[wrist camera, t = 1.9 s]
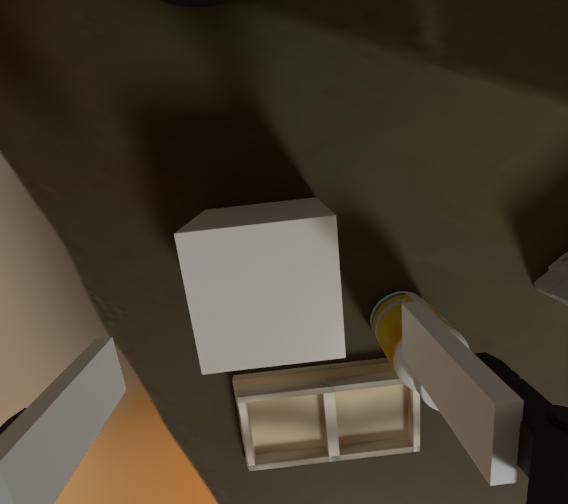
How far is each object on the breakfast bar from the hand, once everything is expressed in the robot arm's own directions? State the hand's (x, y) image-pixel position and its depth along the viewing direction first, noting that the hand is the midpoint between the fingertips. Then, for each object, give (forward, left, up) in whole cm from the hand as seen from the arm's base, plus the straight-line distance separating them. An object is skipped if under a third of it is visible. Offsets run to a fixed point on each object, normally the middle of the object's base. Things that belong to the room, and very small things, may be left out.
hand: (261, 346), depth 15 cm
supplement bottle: (+7, +11, -14) cm, 19 cm away
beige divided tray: (+16, +4, -14) cm, 21 cm away
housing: (0, 0, -14) cm, 14 cm away
